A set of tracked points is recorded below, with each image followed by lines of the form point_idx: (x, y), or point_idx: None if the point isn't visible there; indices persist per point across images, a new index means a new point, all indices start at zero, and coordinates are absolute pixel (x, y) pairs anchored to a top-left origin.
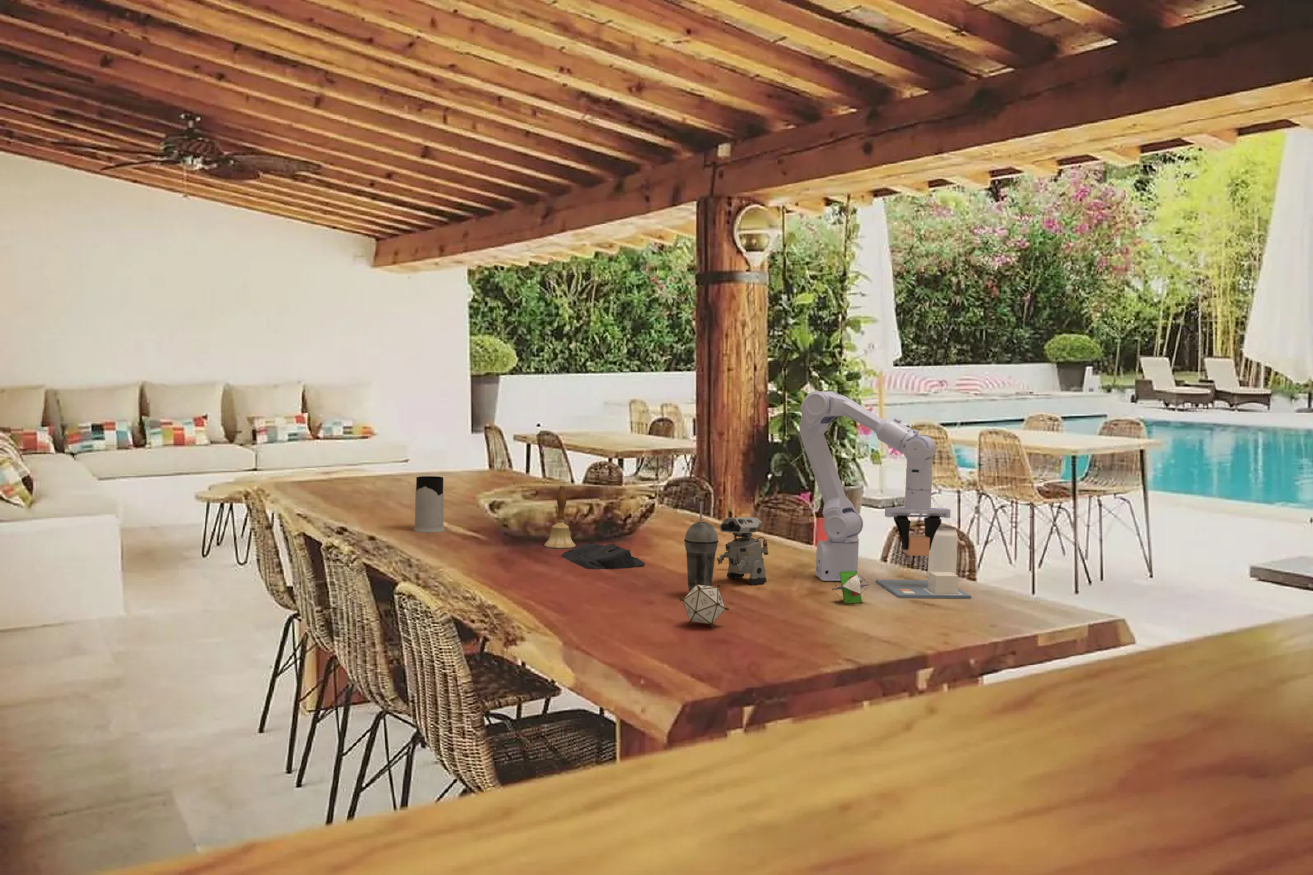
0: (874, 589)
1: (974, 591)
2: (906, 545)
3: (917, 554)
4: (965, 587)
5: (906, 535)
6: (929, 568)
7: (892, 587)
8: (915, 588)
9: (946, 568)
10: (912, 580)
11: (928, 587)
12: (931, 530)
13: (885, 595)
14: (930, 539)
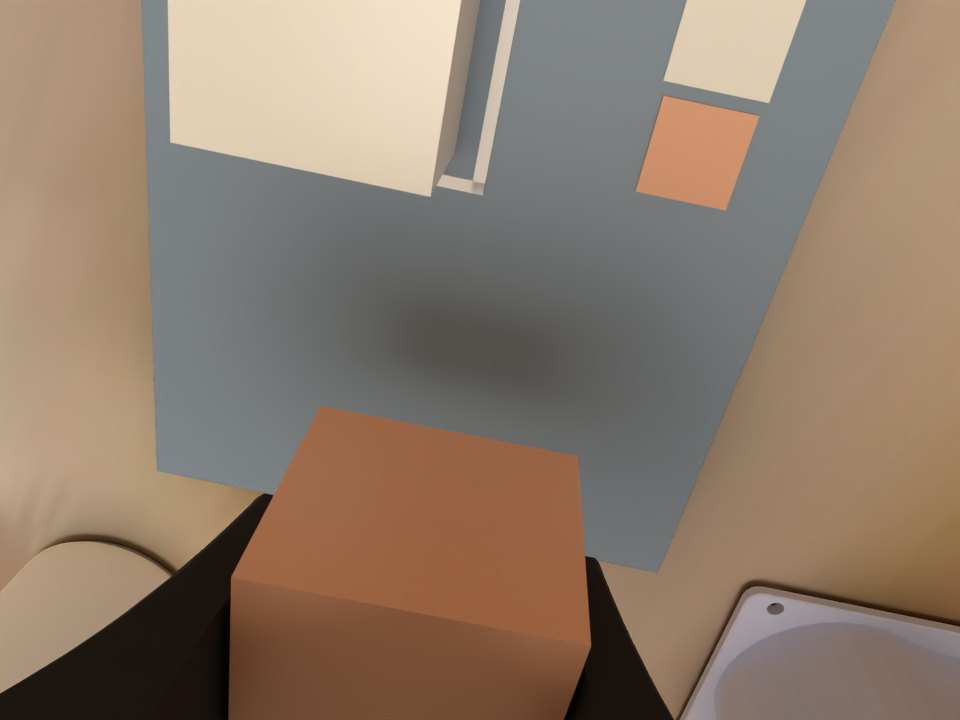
0: (850, 342)
1: (12, 127)
2: (596, 592)
3: (471, 444)
4: (44, 295)
5: (631, 715)
6: None
7: (727, 293)
8: (543, 220)
9: (66, 596)
10: None
11: (455, 139)
12: (130, 703)
13: (955, 73)
14: (212, 583)
